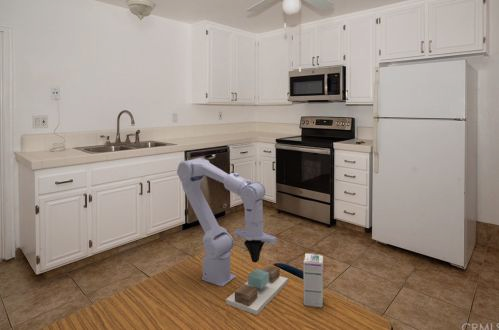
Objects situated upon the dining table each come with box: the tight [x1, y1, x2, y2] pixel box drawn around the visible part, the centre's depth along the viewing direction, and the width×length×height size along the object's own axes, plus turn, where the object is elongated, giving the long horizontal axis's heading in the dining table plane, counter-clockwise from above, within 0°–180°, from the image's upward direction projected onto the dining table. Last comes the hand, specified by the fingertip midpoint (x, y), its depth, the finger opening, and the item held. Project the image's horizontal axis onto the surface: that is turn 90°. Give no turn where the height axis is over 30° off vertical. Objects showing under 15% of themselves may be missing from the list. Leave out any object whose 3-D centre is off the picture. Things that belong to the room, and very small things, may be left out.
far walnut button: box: [260, 264, 281, 283], centre depth 110 cm, size 5×5×3 cm
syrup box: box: [302, 253, 324, 308], centre depth 98 cm, size 6×6×14 cm
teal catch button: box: [247, 268, 269, 289], centre depth 104 cm, size 5×5×3 cm
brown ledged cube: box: [234, 283, 257, 306], centre depth 98 cm, size 5×5×3 cm
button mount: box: [225, 275, 289, 316], centre depth 104 cm, size 11×21×4 cm, turn 148°
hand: (255, 261), depth 104 cm, fingers closed
